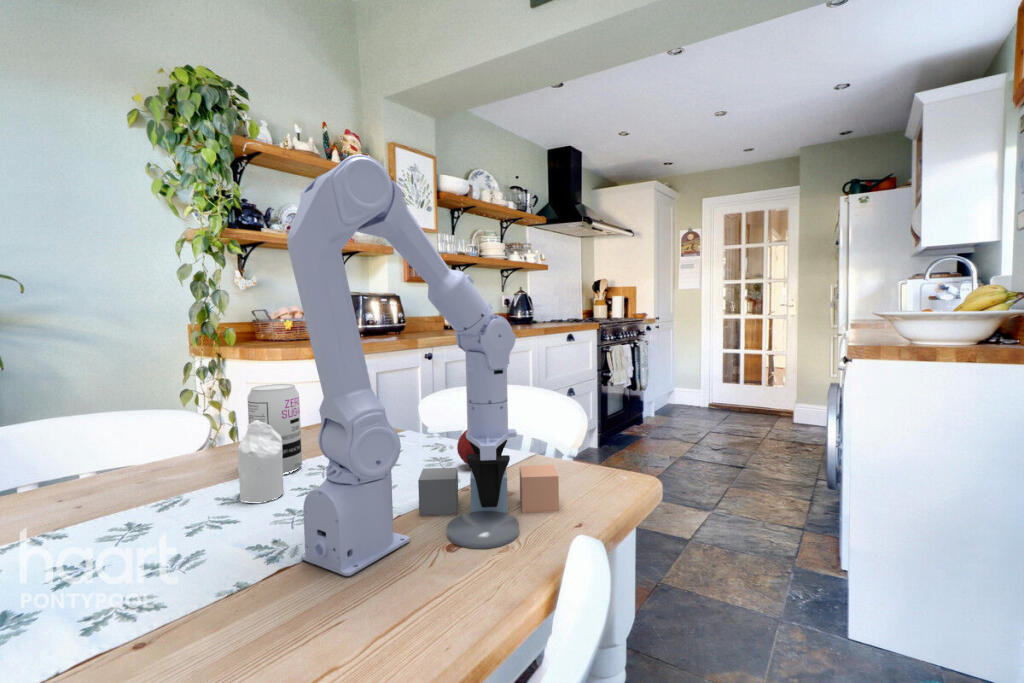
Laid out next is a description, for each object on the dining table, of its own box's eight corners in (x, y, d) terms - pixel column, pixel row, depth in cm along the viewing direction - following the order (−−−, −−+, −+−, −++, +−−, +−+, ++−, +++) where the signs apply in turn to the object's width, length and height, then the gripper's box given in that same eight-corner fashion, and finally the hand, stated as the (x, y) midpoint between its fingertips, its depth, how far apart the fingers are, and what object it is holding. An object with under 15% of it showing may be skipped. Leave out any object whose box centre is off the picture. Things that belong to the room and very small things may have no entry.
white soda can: (255, 466, 90) (251, 385, 89) (304, 461, 93) (301, 382, 92) (246, 480, 83) (241, 391, 82) (299, 475, 85) (296, 388, 84)
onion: (489, 472, 85) (488, 426, 84) (455, 473, 85) (454, 426, 84) (491, 462, 90) (490, 419, 90) (460, 462, 91) (459, 419, 90)
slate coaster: (493, 555, 56) (493, 548, 56) (431, 538, 60) (431, 531, 60) (532, 525, 63) (532, 519, 63) (474, 511, 68) (474, 506, 68)
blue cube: (507, 513, 68) (507, 477, 67) (471, 514, 67) (470, 478, 67) (506, 499, 73) (505, 466, 72) (472, 500, 72) (471, 467, 72)
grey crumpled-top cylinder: (279, 413, 78) (282, 420, 73) (283, 488, 79) (285, 499, 74) (236, 418, 75) (235, 425, 70) (240, 495, 76) (239, 507, 71)
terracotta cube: (558, 511, 68) (558, 476, 68) (522, 513, 68) (521, 477, 67) (553, 498, 73) (553, 464, 73) (520, 499, 73) (519, 465, 72)
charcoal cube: (456, 514, 67) (455, 478, 67) (419, 516, 67) (418, 480, 67) (458, 500, 72) (457, 467, 72) (424, 502, 72) (423, 468, 72)
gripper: (519, 409, 62) (521, 515, 63) (513, 391, 77) (514, 477, 77) (462, 411, 62) (465, 517, 63) (467, 392, 76) (469, 479, 77)
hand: (489, 495), depth 70 cm, fingers open, 7 cm apart
